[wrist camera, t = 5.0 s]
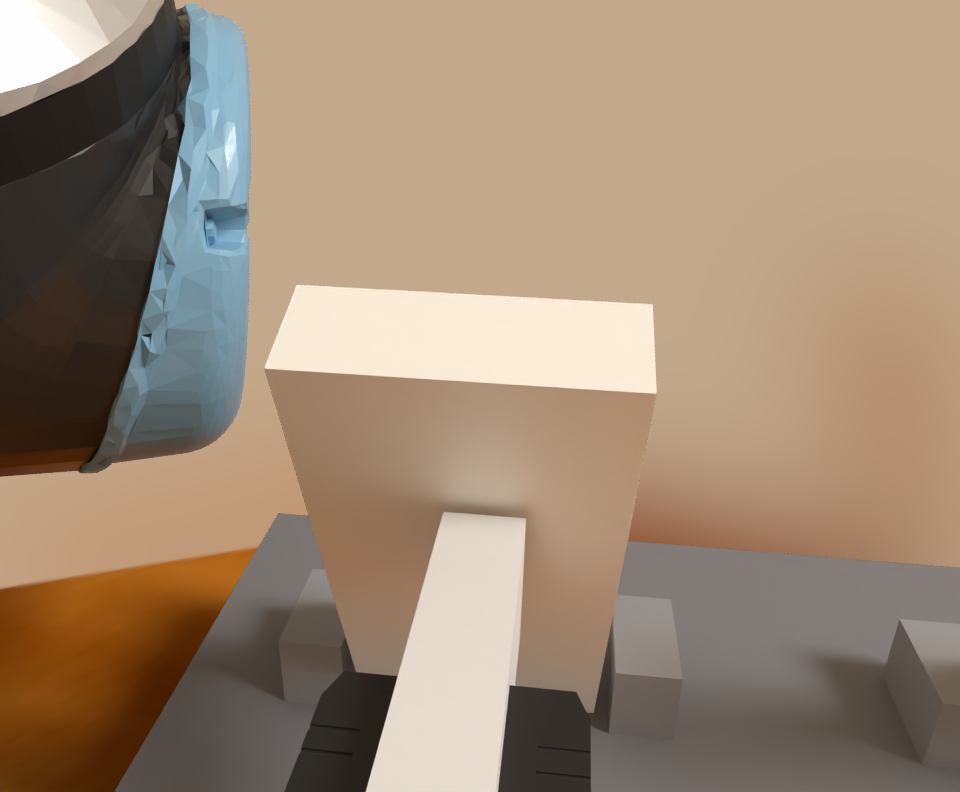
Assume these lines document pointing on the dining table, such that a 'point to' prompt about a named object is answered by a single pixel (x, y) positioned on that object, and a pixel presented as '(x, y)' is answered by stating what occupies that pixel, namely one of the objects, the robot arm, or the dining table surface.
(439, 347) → the lever
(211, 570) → the dining table surface
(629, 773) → the switch unit
